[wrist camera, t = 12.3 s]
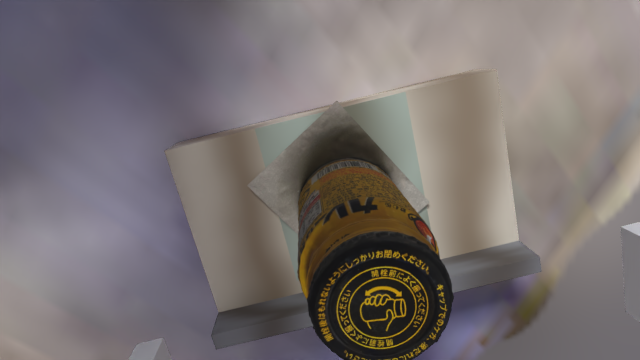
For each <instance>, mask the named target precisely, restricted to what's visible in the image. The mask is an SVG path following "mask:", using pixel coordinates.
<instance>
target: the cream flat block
mask: <svg viewBox="0 0 640 360" xmlns="http://www.w3.org/2000/svg"><path fill="white" fill-rule="evenodd" d="M339 104H340V105H341V106H342V107H343V108H344V109H345V110H346V111H347V112H348V114H349V115H350V116H351V117H352V118H353V119H354V120H355V121H356V122H357V123H358V124H359V125H360V126H361V128H362V129H363V130H364V131H365V132H366V133H367V134H368V135H369V136H370V137H371V139H372V140H373V141H374V142H375V143H376V144H377V145H378V146H379V147H380V148H381V149H382V151H384V153H385V154H386V155H387V156H388V157H389V158H390V159H391V160H392V161H393V163H394V164H395V165H396V166H397V167H398V168H399V169H400V170H401V171H402V172H403V173H404V174H405V176H406V177H407V178H408V179H409V180H410V181H411V182H412V183H413V184H414V185H415V186H416V188H417V189H418V190H419V191H420V192H421V193H422V194H423V195H424V196H425V197H426V198H427V199H428V201H429V203H428V204H427V205H426V206H425V207H424V208H423V209H422V210H420V211H419V212H418V214H419V215H420V216H421V218H422V219H423V220H424V221H425V223H426V224H427V225H428V227H429V229H430V231H431V232H432V233H433V235H434V237H435V240H436V241H437V246H438V249H439V255H440V259H441V261H442V263H443V264H444V265H445V267H446V269H447V271H448V273H449V276H450V279H451V283H452V292H453V293H454V292H459V291H463V290H467V289H471V288H475V287H480V286H484V285H488V284H492V283H496V282H500V281H505V280H509V279H513V278H517V277H521V276H526V275H530V274H534V273H538V272H541V264H540V257H539V256H538V255H537V254H536V253H534V252H533V251H532V250H530V249H529V248H528V247H527V246H525V245H524V244H523V243H522V242H520V241H519V237H518V229H517V221H516V214H515V206H514V198H513V190H512V183H511V175H510V167H509V160H508V152H507V144H506V136H505V129H504V121H503V113H502V106H501V98H500V90H499V82H498V75H497V69H475V70H471V71H467V72H463V73H459V74H455V75H451V76H447V77H443V78H439V79H435V80H431V81H427V82H422V83H418V84H414V85H410V86H406V87H402V88H398V89H394V90H390V91H386V92H382V93H378V94H374V95H369V96H365V97H361V98H357V99H353V100H349V101H345V102H341V103H339ZM331 106H332V105H329V106H325V107H321V108H316V109H312V110H308V111H304V112H300V113H296V114H292V115H288V116H284V117H280V118H276V119H272V120H268V121H263V122H259V123H255V124H251V125H247V126H243V127H239V128H235V129H231V130H227V131H223V132H219V133H214V134H210V135H206V136H202V137H198V138H194V139H190V140H186V141H182V142H178V143H176V144H175V145H173V146H171V147H170V148H168V149H166V150H165V151H164V152H165V155H166V158H167V161H168V164H169V166H170V169H171V172H172V175H173V178H174V181H175V184H176V187H177V190H178V193H179V196H180V199H181V202H182V205H183V208H184V211H185V214H186V217H187V220H188V223H189V226H190V229H191V232H192V235H193V238H194V241H195V244H196V247H197V250H198V253H199V256H200V259H201V262H202V265H203V268H204V271H205V274H206V277H207V280H208V283H209V286H210V289H211V292H212V295H213V297H214V300H215V303H216V306H217V309H218V312H219V313H218V316H217V319H216V322H215V325H214V328H213V331H212V334H211V336H212V339H213V342H214V345H215V348H216V349H220V348H224V347H228V346H232V345H237V344H241V343H245V342H249V341H253V340H258V339H262V338H266V337H270V336H274V335H279V334H283V333H287V332H291V331H295V330H299V329H304V328H308V327H312V326H313V324H312V322H311V318H310V317H309V312H308V303H307V299H306V298H305V295H304V293H303V291H302V289H301V284H300V281H299V279H298V273H297V271H298V234H297V233H296V232H295V231H294V230H293V229H292V228H290V227H289V226H288V225H287V224H286V223H285V222H284V221H283V220H282V219H281V218H280V217H279V216H278V215H277V214H276V213H275V212H274V211H273V210H271V209H270V208H269V207H268V206H267V204H266V203H265V202H264V201H262V200H261V199H260V198H259V197H258V196H257V195H256V194H255V193H254V192H253V191H252V190H251V189H250V188H249V187H248V186H247V185H248V184H249V183H250V182H251V181H253V180H254V179H255V178H256V177H257V176H258V175H259V174H260V173H261V172H262V171H263V170H264V169H265V168H266V167H267V166H268V165H269V164H270V163H271V162H272V161H274V160H275V159H276V158H277V157H278V156H279V155H280V154H281V153H282V152H283V151H284V150H285V149H286V148H287V147H288V146H289V145H290V144H291V143H292V142H293V141H294V140H295V139H296V138H298V137H299V136H300V135H301V134H302V133H303V132H304V131H305V130H306V129H307V128H308V127H309V126H310V125H311V124H312V123H313V122H315V121H316V120H317V119H318V118H319V117H320V116H321V115H322V114H323V113H324V112H325V111H327V109H328V108H329V107H331ZM298 192H299V191H298Z"/></svg>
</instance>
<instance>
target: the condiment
mask: <svg viewBox="0 0 640 360" xmlns="http://www.w3.org/2000/svg"><path fill="white" fill-rule="evenodd" d="M247 186H248V187H249V188H250V189H251V190H252V191H253V192H254V193H255V194H256V195H257V196H258V197H259V198H260V199H261V200H262V201H264V202H265V203H266V204H267V206H268V207H269V208H270V209H271V210H273V211H274V212H275V213H276V214H277V215H278V216H279V217H280V218H281V219H282V220H283V221H284V222H285V223H286V224H287V225H288V226H289V227H290V228H292V229H293V230H294V231H295V232H296V233H297V234H298V271H297V273H298V279H299V281H300V284H301V289H302V291H303V293H304V295H305V298H306V299H307V303H308V312H309V317H310V318H311V322H312V324H313V329H315V332H316V334H317V335H318V337H319V338H320V339H321V340H322V342H323V343H324V344H325V345H326V346H327V347H328V348H329V349H330V350H331V351H332V352H334V353H336V354H337V355H338V356H339V357H340V358H342V359H344V360H412V359H413V358H415V357H417V356H419V355H420V354H421V353H422V352H424V351H425V350H427V349H428V348H429V347H430V346H431V345H433V344H434V343H435V342H437V341H438V339H439V337H440V336H441V333H442V332H443V330H444V329H445V328H446V325H447V323H448V320H449V316H450V312H451V306H452V302H453V298H454V296H453V292H452V283H451V279H450V276H449V273H448V271H447V269H446V267H445V265H444V264H443V263H442V261H441V259H440V255H439V249H438V246H437V241H436V240H435V237H434V235H433V233H432V232H431V231H430V229H429V227H428V225H427V224H426V223H425V221H424V220H423V219H422V218H421V216H420V215H419V214H418V212H419V211H420V210H422V209H423V208H424V207H425V206H426V205H427V204H428V203H429V201H428V199H427V198H426V197H425V196H424V195H423V194H422V193H421V192H420V191H419V190H418V189H417V188H416V186H415V185H414V184H413V183H412V182H411V181H410V180H409V179H408V178H407V177H406V176H405V174H404V173H403V172H402V171H401V170H400V169H399V168H398V167H397V166H396V165H395V164H394V163H393V161H392V160H391V159H390V158H389V157H388V156H387V155H386V154H385V153H384V151H382V149H381V148H380V147H379V146H378V145H377V144H376V143H375V142H374V141H373V140H372V139H371V137H370V136H369V135H368V134H367V133H366V132H365V131H364V130H363V129H362V128H361V126H360V125H359V124H358V123H357V122H356V121H355V120H354V119H353V118H352V117H351V116H350V115H349V114H348V112H347V111H346V110H345V109H344V108H343V107H342V106H341V105H340V104H339V103H338V102H337V101H336V102H335V103H334V104H333V105H332V106H331V107H329V108H328V109H327V111H325V112H324V113H323V114H322V115H321V116H320V117H319V118H318V119H317V120H316V121H315V122H313V123H312V124H311V125H310V126H309V127H308V128H307V129H306V130H305V131H304V132H303V133H302V134H301V135H300V136H299V137H298V138H296V139H295V140H294V141H293V142H292V143H291V144H290V145H289V146H288V147H287V148H286V149H285V150H284V151H283V152H282V153H281V154H280V155H279V156H278V157H277V158H276V159H275V160H274V161H272V162H271V163H270V164H269V165H268V166H267V167H266V168H265V169H264V170H263V171H262V172H261V173H260V174H259V175H258V176H257V177H256V178H255V179H254V180H253V181H251V182H250V183H249V184H248V185H247ZM298 191H299V192H298Z"/></svg>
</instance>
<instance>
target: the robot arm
mask: <svg viewBox="0 0 640 360" xmlns="http://www.w3.org/2000/svg"><path fill="white" fill-rule="evenodd" d="M621 240H622V258H623V277H624V296H625V312H627V313H628V314H629V315H631V316H632V317H633V318H635V319H636V320H637V321H639V322H640V222H638V223H634V224H630V225H625V226H622V227H621ZM128 360H172V358H171V355H170V353H169V350H168V348H167V345H166V343H165V340H164V338H159V339H155V340H151V341H147V342H143V343H139V344H137V345H136V347H135V349H134V350H133V352H132V354H131V356H130V358H129V359H128Z"/></svg>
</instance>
